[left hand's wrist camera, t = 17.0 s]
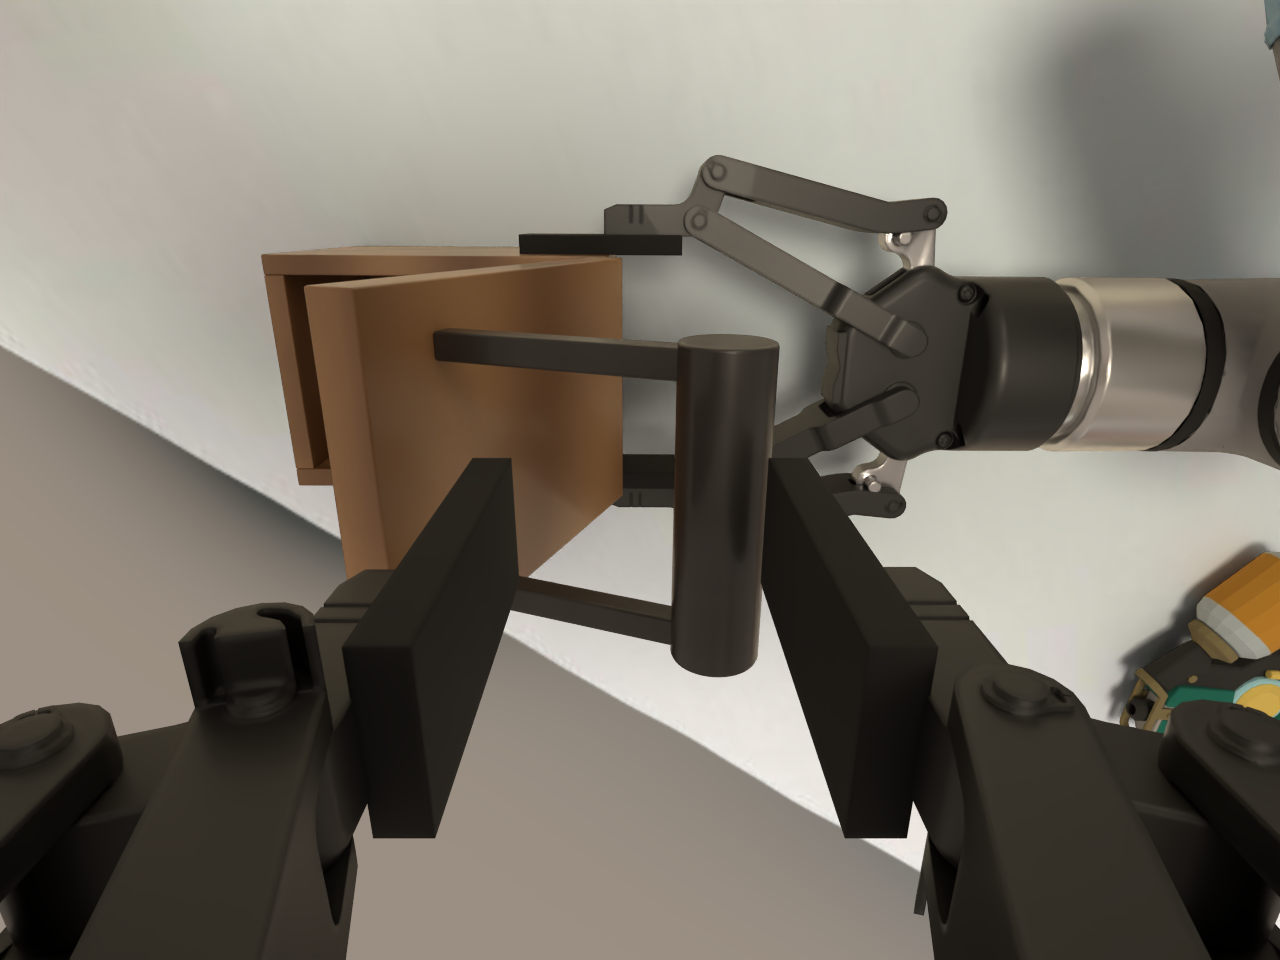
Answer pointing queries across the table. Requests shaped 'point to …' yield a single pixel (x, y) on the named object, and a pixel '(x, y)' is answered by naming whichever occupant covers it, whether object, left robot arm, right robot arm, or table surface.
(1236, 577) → the spray gun
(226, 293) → the table surface
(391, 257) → the chest
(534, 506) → the lid
